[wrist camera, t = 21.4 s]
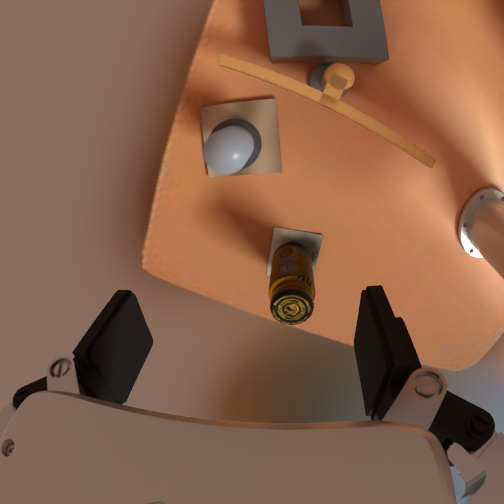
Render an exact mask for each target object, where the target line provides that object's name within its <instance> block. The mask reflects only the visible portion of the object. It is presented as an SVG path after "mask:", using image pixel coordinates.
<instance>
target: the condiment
mask: <svg viewBox="0 0 504 504" xmlns="http://www.w3.org/2000/svg"><path fill="white" fill-rule="evenodd" d="M322 238H323V235H319V234H314V233H309V232H303V231H297V230H290V229H284V228H277V227H274V230H273V236H272V243H271V249H270V255H269V261H268V267H267V273H266V276H270V285H269V299H270V303H271V305H270V309H271V312H272V314H273V317H274V318H275V319H276V320H278V321H279V322H281V323H284V324H288V325H294V324H300V323H302V322H304V321H306V320H307V319H308V318H309V317H310V316H311V315H312V312H313V308H314V303H313V301H314V298H315V284H314V277H313V273H314V269H315V265H316V262H317V258H318V254H319V250H320V246H321V242H322ZM286 241H287V242H286ZM284 242H285V244H284ZM310 251H311V252H310Z"/></svg>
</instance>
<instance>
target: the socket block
mask: <svg viewBox="0 0 504 504" xmlns="http://www.w3.org/2000/svg"><path fill="white" fill-rule="evenodd" d="M263 2H264V9H265V17H266V24H267V32H268V41H269V49H270V57H271V61H272V63H284V62H354V63H369V64H380V63H382V62H385V61H387V60H389V56H388V48H387V41H386V34H385V27H384V21H383V16H382V10H381V5H380V0H340V3H341V9H342V15H343V21H344V26H302V22H301V15H300V8H299V2H298V0H263ZM329 66H331V65H329V64H326V65H321V66H319V67H317V68H315V69H314V70H313V72H312V73H311V75H310V79H309V83H310V87H312V88H315V89H317V90H319V91H321V92H322V90H323V87H324V85H325V82H324V78H323V76H324V72H325V70H326V69H327V68H328V67H329ZM346 92H347V89H345V90H344V91H343V93H342V95H341V97H343V96H344V95H345V93H346ZM341 97H340V98H341Z"/></svg>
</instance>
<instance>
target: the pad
mask: <svg viewBox="0 0 504 504" xmlns="http://www.w3.org/2000/svg"><path fill="white" fill-rule="evenodd" d="M199 108H200V116H201V124H202V132H203V139H204V144H205V142H206V140H207V138H208V137H209V136H210V134H211V132H212V130H213V129H214V128H215V127H216V126H217V125H218V124H219V123H221V122H223V121H225V120H228V119H234V118H238V119H243V120H246V121H248V122H250V123H251V124H253V125H254V126H255V127H256V128H257V130H258V131H259V133H260V136H261V140H262V148H261V152H260V154H259V156H258V158H257V159H256V161H255V162H254V163H253V164H252V165H250V166H249V167H247V168H244V169H241V170H239V171H237V172H235V173H232V174H221V173H218V172H215V171H214V170H212V169H211V168H210V167H209V166H208V165H207V168H208V175H209V178H214V177H225V176H236V175H249V174H264V173H281V172H282V164H281V151H280V139H279V127H278V116H277V105H276V99H264V100H252V101H243V102H234V103H226V104H218V105H211V106H205V107H199Z"/></svg>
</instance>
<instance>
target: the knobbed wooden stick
mask: <svg viewBox="0 0 504 504" xmlns="http://www.w3.org/2000/svg"><path fill="white" fill-rule="evenodd" d="M217 64H218V65H220V66H222V67H225V68H229V69H232V70H235V71H238V72H241V73H244V74H247V75H250V76H252V77H255V78H258V79H261V80H263V81H266V82H269V83H271V84H274V85H276V86H279V87H281V88H284V89H286V90H289V91H291V92H294V93H296V94H298V95H300V96H303V97H305V98H307V99H309V100H312V101H314V102H316V103H318V104H320V105H322V106H324V107H327V108H329V109H331V110H333V111H335V112H337V113H339V114H341V115H343V116H345V117H346V118H348V119H350V120H352V121H354V122H356V123H358V124H360V125H361V126H363V127H365V128H367V129H369V130H370V131H372V132H374V133H376V134H377V135H379V136H381V137H382V138H384V139H386V140H387V141H389V142H391V143H392V144H394V145H396V146H397V147H399V148H400V149H402V150H403V151H405V152H407V153H408V154H410V155H411V156H413V157H414V158H416V159H417V160H419V161H420V162H422V163H423V164H424V165H426V166H428V167H430V168H433V166H434V164H435V162H436V159H434V158H433V157H432V156H430V155H429V154H428V153H426V152H425V151H423V150H422V149H420V148H419V147H418V146H416V145H415V144H413V143H412V142H410V141H409V140H407V139H406V138H404V137H402V136H401V135H399V134H398V133H396V132H395V131H393V130H391V129H390V128H388V127H386V126H385V125H383V124H381V123H380V122H378V121H376V120H375V119H373V118H371V117H369V116H368V115H366V114H364V113H362V112H360V111H359V110H357V109H355V108H353V107H351V106H349V105H347V104H345V103H344V102H342V101H340V100H339V99H340V97H341V95H342V93H343V91H344V90H345V89H348V88H350V87H351V86H352V85H353V83H354V80H355V76H354V73H353V71H352V69H351V68H350V67H349V66H347V65H346V64H343V63H334V64H332V65H331V66H329V67H328V68H327V69H326V70H325V72H324V76H323V78H324V82H325V85H324V87H323V90H322V92H321V91H319V90H317V89H315V88H312V87H310V86H308V85H306V84H303V83H301V82H299V81H296V80H294V79H292V78H289V77H287V76H284V75H282V74H279V73H277V72H274V71H271V70H269V69H266V68H263V67H260V66H258V65H255V64H252V63H249V62H246V61H243V60H240V59H237V58H233V57H230V56H227V55H224V54H221V56H220V58H219V61H218V63H217Z"/></svg>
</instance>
